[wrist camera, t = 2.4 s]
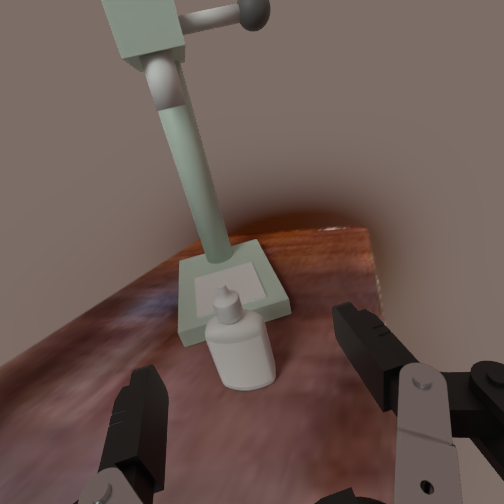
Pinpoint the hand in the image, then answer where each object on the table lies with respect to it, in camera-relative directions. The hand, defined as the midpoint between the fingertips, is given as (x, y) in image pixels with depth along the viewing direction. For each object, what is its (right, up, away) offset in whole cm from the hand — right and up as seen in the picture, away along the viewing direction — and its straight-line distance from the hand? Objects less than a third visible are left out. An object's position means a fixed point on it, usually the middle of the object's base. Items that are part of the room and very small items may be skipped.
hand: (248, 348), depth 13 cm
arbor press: (-1, -1, +32) cm, 32 cm away
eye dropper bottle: (0, -9, +18) cm, 20 cm away
